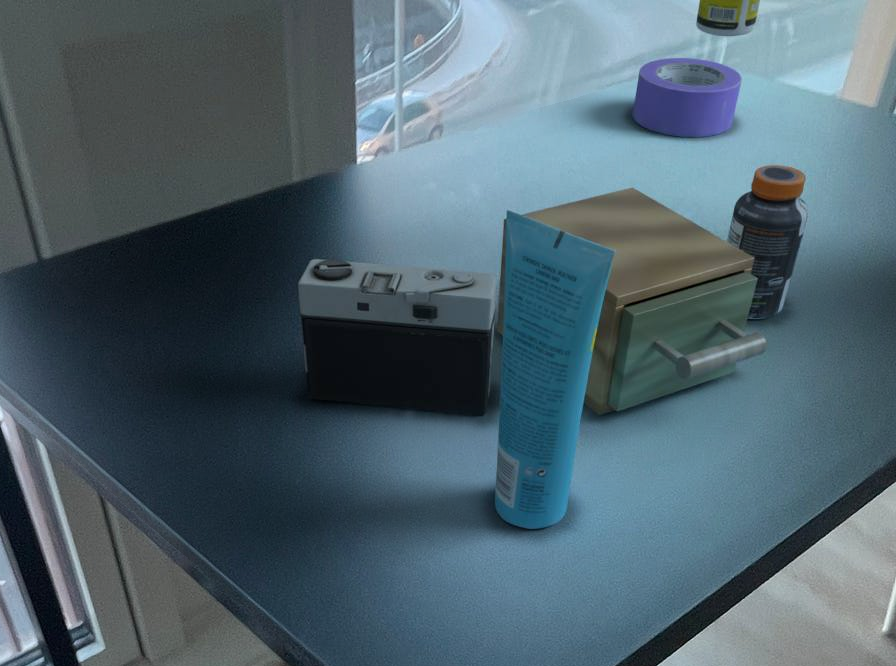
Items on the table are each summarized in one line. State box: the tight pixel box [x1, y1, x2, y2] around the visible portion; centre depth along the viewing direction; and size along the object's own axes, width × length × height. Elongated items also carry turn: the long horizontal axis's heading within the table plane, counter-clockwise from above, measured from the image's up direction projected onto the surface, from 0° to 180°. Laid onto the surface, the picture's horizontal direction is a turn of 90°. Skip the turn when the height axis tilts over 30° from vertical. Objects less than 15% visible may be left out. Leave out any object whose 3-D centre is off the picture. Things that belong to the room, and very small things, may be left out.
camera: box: [297, 258, 498, 416], centre depth 76 cm, size 14×8×10 cm, turn 80°
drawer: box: [608, 272, 768, 412], centre depth 77 cm, size 18×11×8 cm, turn 29°
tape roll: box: [632, 57, 743, 138], centre depth 119 cm, size 12×12×5 cm
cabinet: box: [496, 187, 754, 416], centre depth 80 cm, size 15×13×10 cm
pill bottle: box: [726, 164, 809, 320], centre depth 85 cm, size 6×6×11 cm
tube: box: [494, 209, 616, 530], centre depth 62 cm, size 7×5×19 cm, turn 52°
